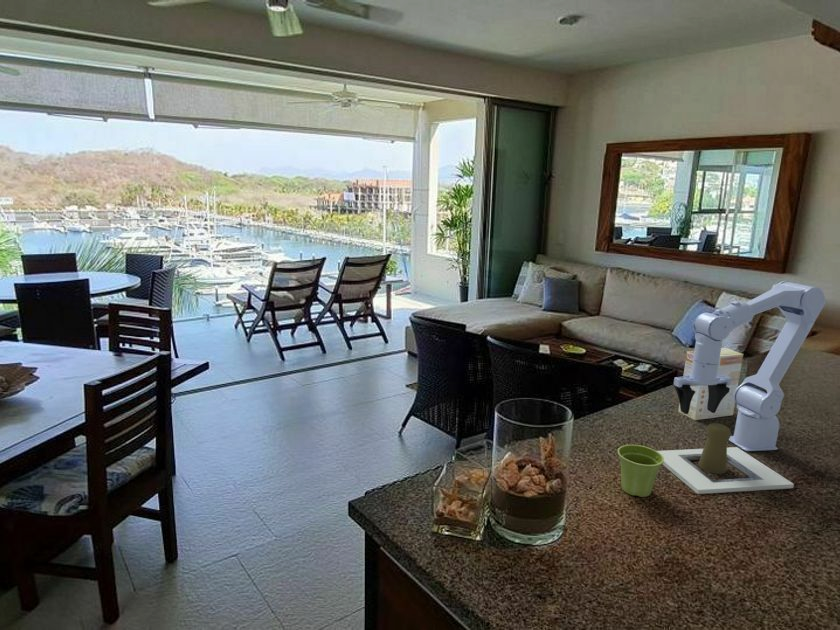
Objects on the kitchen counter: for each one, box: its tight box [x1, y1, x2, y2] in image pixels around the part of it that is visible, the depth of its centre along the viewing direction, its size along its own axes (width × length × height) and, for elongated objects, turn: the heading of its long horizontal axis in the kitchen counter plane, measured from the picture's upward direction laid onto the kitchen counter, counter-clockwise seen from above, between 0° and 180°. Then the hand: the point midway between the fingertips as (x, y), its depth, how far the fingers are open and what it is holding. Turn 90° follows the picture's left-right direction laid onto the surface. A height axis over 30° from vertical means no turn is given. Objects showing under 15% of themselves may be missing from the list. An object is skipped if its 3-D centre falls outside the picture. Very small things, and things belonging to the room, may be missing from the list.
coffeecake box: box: [677, 347, 744, 421], centre depth 161 cm, size 15×7×20 cm, turn 108°
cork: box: [698, 422, 732, 475], centre depth 129 cm, size 6×6×11 cm
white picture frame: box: [656, 446, 795, 495], centre depth 129 cm, size 24×18×1 cm
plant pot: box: [617, 444, 664, 498], centre depth 118 cm, size 9×9×9 cm
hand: (697, 411), depth 137 cm, fingers open, 7 cm apart
